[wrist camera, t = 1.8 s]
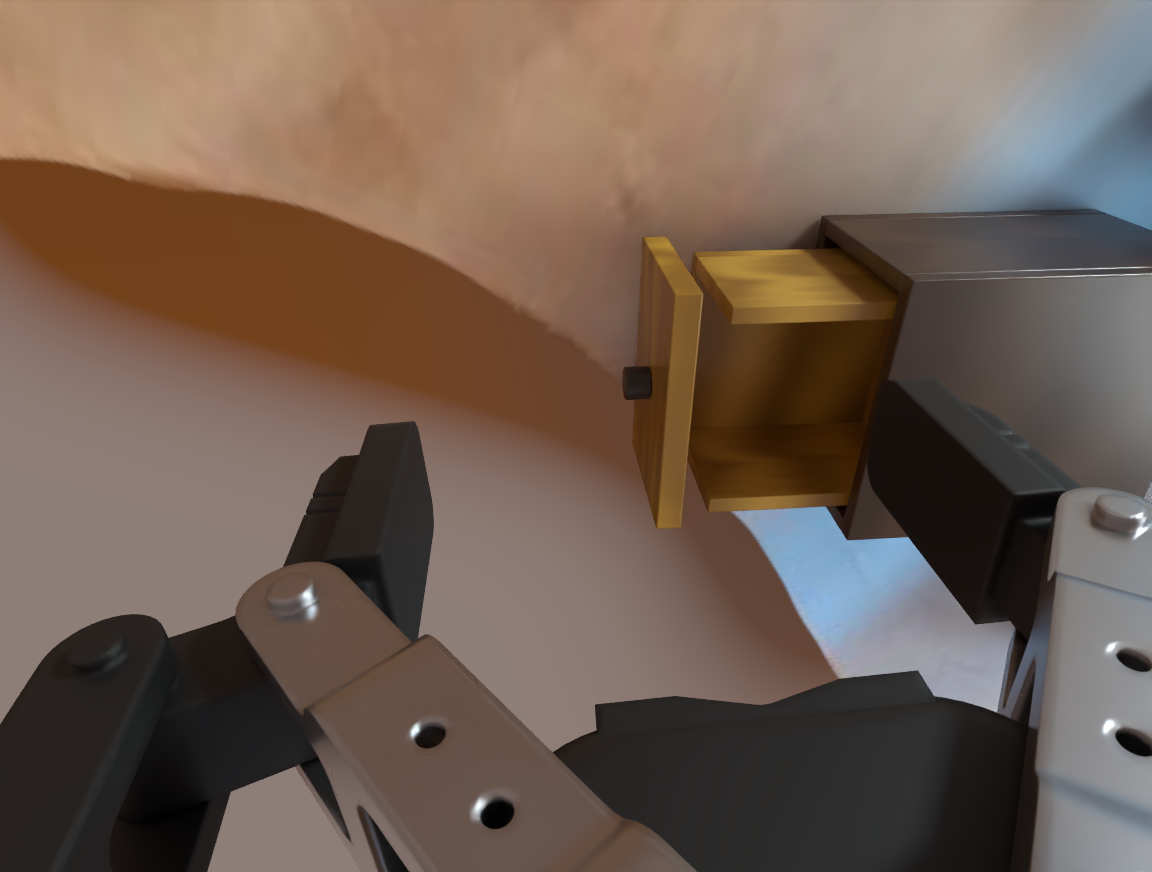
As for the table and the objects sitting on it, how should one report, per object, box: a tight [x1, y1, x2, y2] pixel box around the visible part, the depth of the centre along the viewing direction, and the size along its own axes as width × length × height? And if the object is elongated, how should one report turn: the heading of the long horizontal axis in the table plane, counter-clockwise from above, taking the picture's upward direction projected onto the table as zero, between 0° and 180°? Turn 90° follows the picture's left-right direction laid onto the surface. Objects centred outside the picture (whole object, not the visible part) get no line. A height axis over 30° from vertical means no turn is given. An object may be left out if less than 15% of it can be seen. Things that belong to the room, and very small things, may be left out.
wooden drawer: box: [623, 237, 900, 529], centre depth 36 cm, size 15×12×8 cm
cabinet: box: [816, 210, 1152, 540], centre depth 36 cm, size 15×13×10 cm
